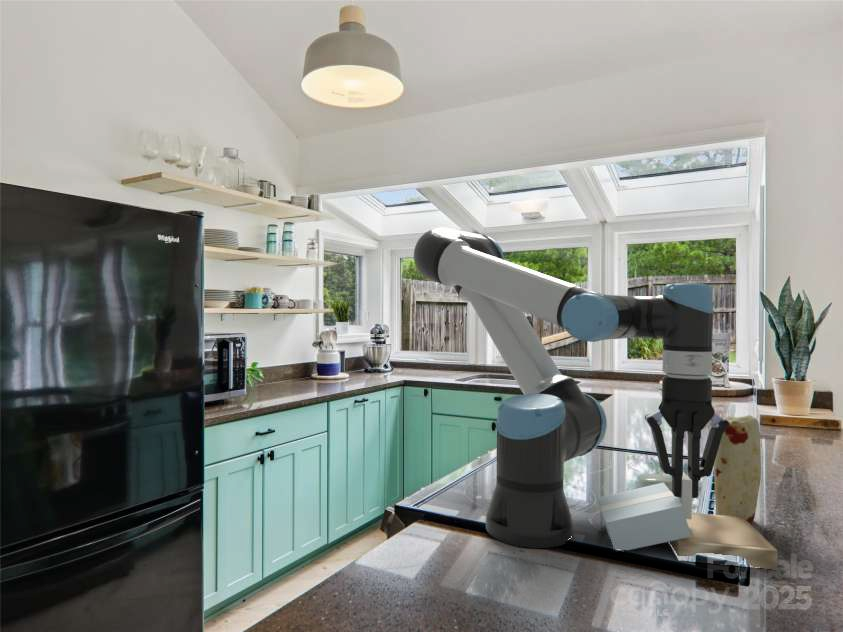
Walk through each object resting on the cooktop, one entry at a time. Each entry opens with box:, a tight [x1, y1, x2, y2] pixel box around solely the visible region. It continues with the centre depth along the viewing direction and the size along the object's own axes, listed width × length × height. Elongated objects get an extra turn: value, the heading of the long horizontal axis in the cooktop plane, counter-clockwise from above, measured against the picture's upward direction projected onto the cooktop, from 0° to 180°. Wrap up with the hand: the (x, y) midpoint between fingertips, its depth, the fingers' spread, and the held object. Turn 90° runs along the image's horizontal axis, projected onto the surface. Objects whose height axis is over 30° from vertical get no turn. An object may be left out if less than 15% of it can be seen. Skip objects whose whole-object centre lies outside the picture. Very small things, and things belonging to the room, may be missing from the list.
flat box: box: [596, 483, 692, 551], centre depth 94 cm, size 12×12×5 cm
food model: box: [713, 415, 762, 524], centre depth 103 cm, size 10×7×20 cm
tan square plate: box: [669, 512, 778, 571], centre depth 92 cm, size 14×14×3 cm
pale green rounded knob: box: [637, 473, 672, 492], centre depth 106 cm, size 6×6×7 cm
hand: (684, 516), depth 93 cm, fingers closed
